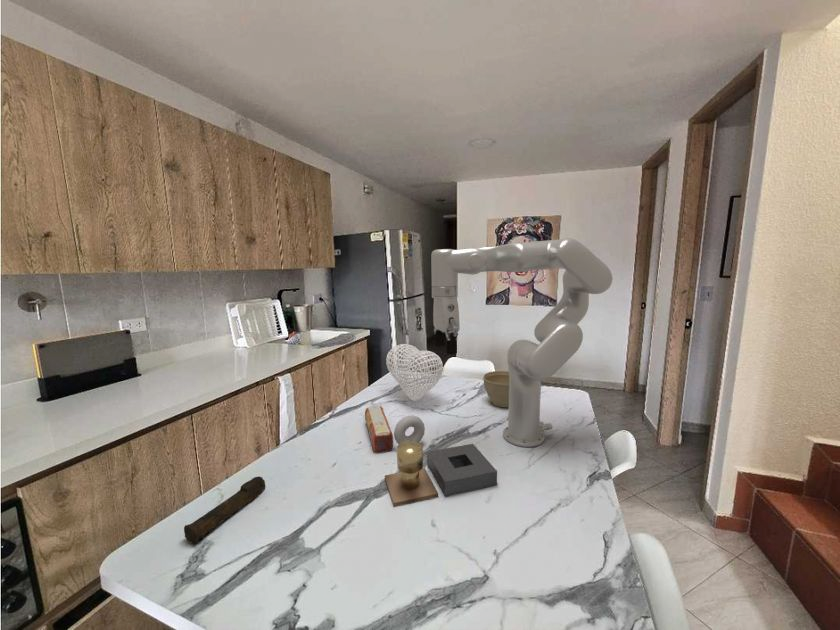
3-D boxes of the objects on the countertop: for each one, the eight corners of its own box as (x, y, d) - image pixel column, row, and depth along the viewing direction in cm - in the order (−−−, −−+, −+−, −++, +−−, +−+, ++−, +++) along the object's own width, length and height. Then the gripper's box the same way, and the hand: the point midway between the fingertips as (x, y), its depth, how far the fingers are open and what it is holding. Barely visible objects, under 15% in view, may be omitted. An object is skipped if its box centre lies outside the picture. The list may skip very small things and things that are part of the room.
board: (424, 471, 94) (424, 467, 94) (438, 497, 83) (438, 493, 83) (384, 478, 91) (384, 475, 91) (393, 506, 80) (393, 503, 80)
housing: (472, 456, 101) (473, 443, 100) (496, 485, 87) (497, 471, 87) (427, 465, 97) (426, 451, 96) (444, 497, 83) (444, 481, 83)
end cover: (419, 474, 91) (418, 438, 89) (426, 489, 85) (426, 451, 83) (395, 479, 89) (394, 442, 87) (401, 494, 83) (400, 456, 81)
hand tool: (195, 548, 70) (193, 527, 69) (183, 541, 72) (181, 521, 71) (272, 492, 86) (271, 475, 86) (261, 488, 88) (260, 471, 88)
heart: (451, 406, 135) (450, 351, 132) (418, 417, 126) (417, 358, 123) (410, 386, 158) (409, 339, 154) (380, 394, 149) (379, 344, 145)
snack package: (394, 451, 104) (394, 430, 103) (372, 455, 102) (371, 434, 101) (383, 420, 124) (382, 403, 123) (365, 423, 123) (364, 405, 122)
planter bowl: (503, 392, 149) (503, 368, 147) (533, 405, 135) (534, 378, 134) (474, 400, 140) (474, 375, 139) (503, 415, 127) (504, 387, 125)
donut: (397, 453, 103) (396, 421, 101) (392, 447, 106) (391, 417, 104) (426, 445, 107) (426, 414, 106) (422, 440, 110) (421, 410, 109)
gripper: (469, 294, 93) (469, 355, 96) (445, 289, 110) (446, 342, 112) (443, 295, 91) (443, 358, 94) (423, 290, 107) (424, 344, 110)
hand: (445, 349), depth 103 cm, fingers open, 9 cm apart
